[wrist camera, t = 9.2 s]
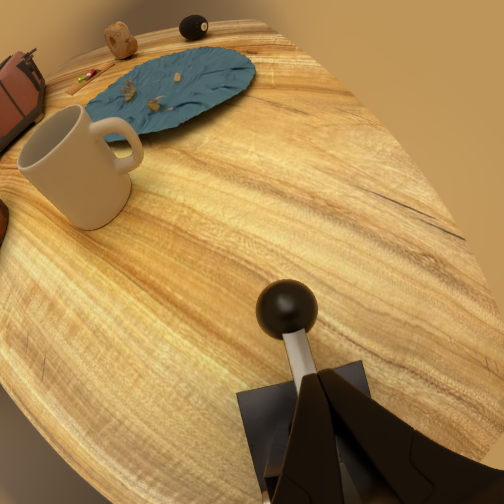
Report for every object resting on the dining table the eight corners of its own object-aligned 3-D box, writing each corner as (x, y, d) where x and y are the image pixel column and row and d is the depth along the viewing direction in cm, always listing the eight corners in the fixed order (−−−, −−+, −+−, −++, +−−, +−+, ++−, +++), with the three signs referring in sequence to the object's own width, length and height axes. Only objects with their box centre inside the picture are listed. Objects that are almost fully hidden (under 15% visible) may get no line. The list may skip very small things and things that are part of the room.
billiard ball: (198, 43, 45) (192, 19, 39) (177, 43, 47) (170, 21, 41) (215, 33, 47) (210, 10, 41) (194, 33, 49) (188, 12, 43)
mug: (69, 240, 27) (5, 184, 17) (78, 184, 31) (31, 127, 21) (161, 208, 27) (109, 126, 17) (160, 151, 30) (123, 77, 21)
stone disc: (111, 60, 50) (97, 29, 41) (123, 52, 51) (110, 22, 42) (129, 62, 46) (114, 27, 37) (143, 53, 47) (129, 19, 38)
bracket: (238, 392, 19) (190, 405, 9) (357, 360, 19) (420, 341, 9) (270, 514, 14) (254, 596, 4) (384, 483, 14) (446, 540, 4)
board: (65, 91, 47) (63, 87, 46) (105, 62, 50) (103, 58, 49) (72, 95, 45) (69, 90, 44) (114, 64, 48) (112, 59, 46)
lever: (255, 305, 17) (245, 275, 14) (307, 291, 17) (307, 259, 14) (303, 514, 9) (303, 533, 6) (367, 496, 9) (384, 509, 6)
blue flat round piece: (86, 100, 44) (75, 82, 39) (222, 42, 45) (216, 21, 41) (70, 196, 30) (47, 170, 25) (289, 100, 31) (286, 64, 27)
